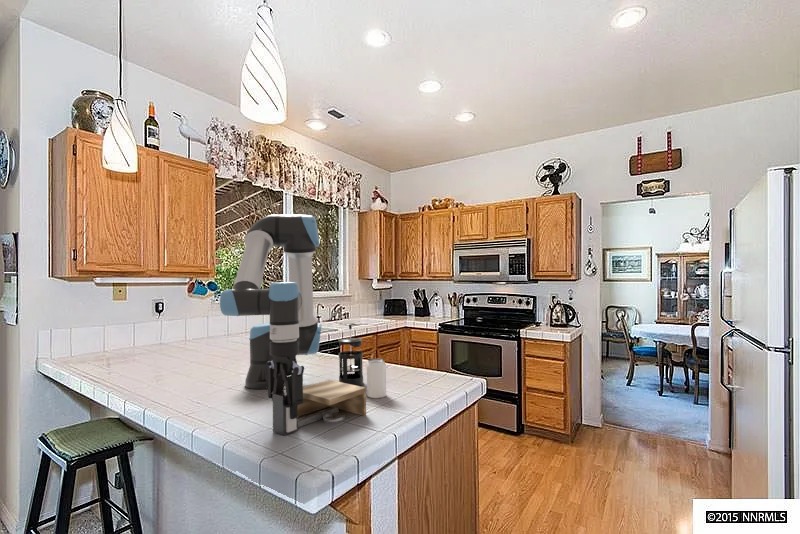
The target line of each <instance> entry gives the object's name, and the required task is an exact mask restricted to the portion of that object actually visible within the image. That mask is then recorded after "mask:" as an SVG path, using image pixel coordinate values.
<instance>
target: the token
mask: <svg viewBox="0 0 800 534" xmlns="http://www.w3.org/2000/svg"><path fill="white" fill-rule="evenodd" d="M345 415H346V414H345V413H343V412H339V411H338V412H332V413H328V414H325V415H324V416H323V418H322V420H323V422H324V423H325V424H340V423H342V422H344V421H345V420H346V416H345Z"/></svg>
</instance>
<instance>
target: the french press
mask: <svg viewBox="0 0 800 534" xmlns="http://www.w3.org/2000/svg"><path fill="white" fill-rule="evenodd" d="M344 326H348V328H349V337H346V338H342V339H338V343H339V347H341V346H344V345H349V350H346V351H340V352H338V358H339V361H338V362H339V376H338V382H342V383H347V384H351V385H356V386H360V387H364V386H365V385H364V384H365V383H364V375H363V372H364V371H363V356H364V355H363V354H364V353H363V351H361V350H352V347H353V348H359V347H362V342H363V339H362V338H357V337H356V338H355V337H352V326H356V323H349V322H348V323H345V324H344ZM348 360H350V361H349V362H350V364H349V365H348ZM352 360H353V361H354V362H353V363H354V365H352Z"/></svg>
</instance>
